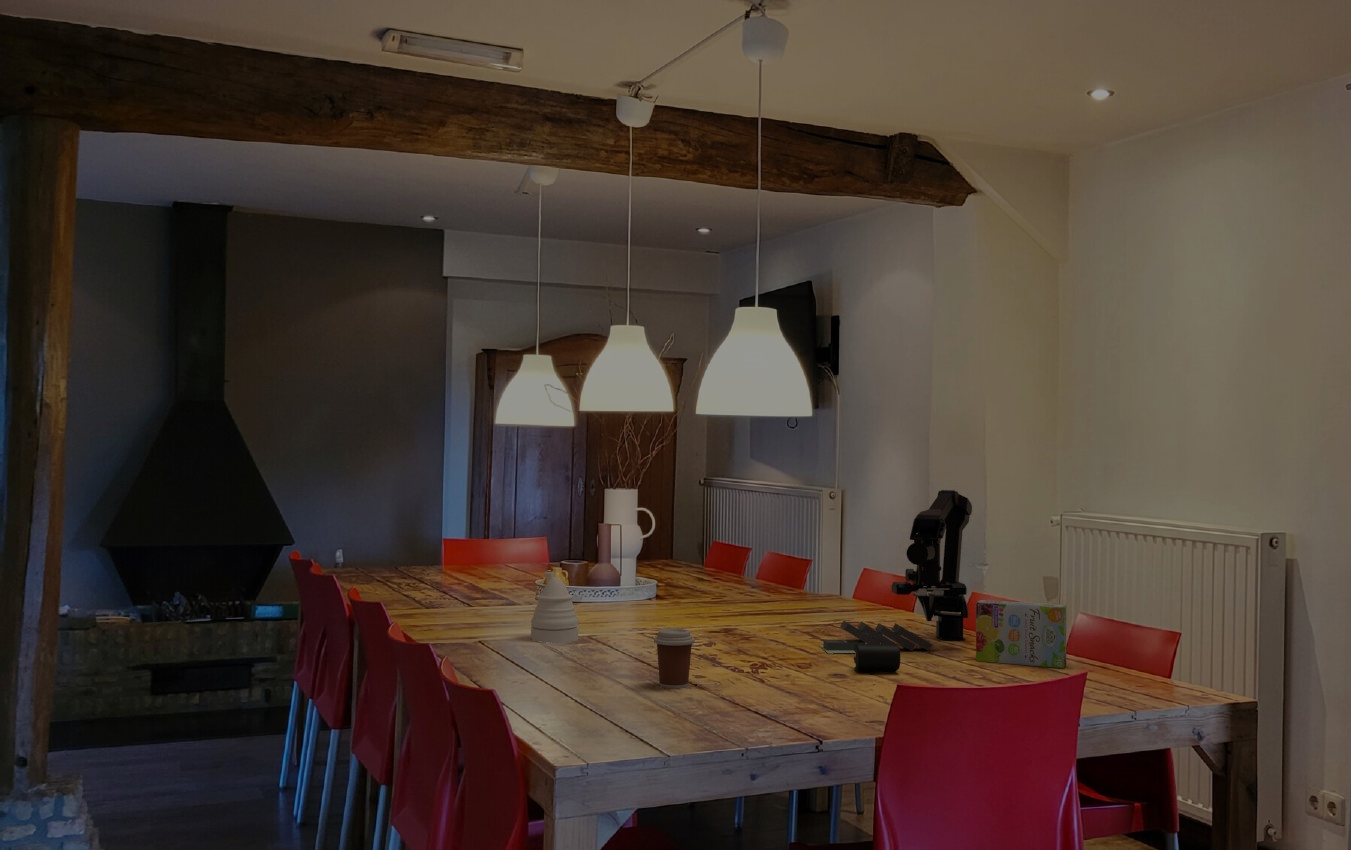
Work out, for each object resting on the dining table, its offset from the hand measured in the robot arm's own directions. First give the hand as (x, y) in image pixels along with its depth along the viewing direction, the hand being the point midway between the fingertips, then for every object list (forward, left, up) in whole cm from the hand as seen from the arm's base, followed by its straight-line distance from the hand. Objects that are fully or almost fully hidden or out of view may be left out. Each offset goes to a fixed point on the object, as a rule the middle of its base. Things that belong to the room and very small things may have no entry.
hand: (928, 621), depth 298 cm
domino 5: (+18, 0, -6) cm, 19 cm away
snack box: (-17, +19, -8) cm, 27 cm away
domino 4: (0, 0, -7) cm, 7 cm away
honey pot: (+99, -18, -8) cm, 101 cm away
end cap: (+22, +29, -8) cm, 37 cm away
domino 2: (+10, 0, -7) cm, 12 cm away
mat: (+24, 0, -8) cm, 25 cm away
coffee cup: (+71, +43, -8) cm, 83 cm away
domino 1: (+14, 0, -6) cm, 15 cm away
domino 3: (+5, 0, -7) cm, 8 cm away
